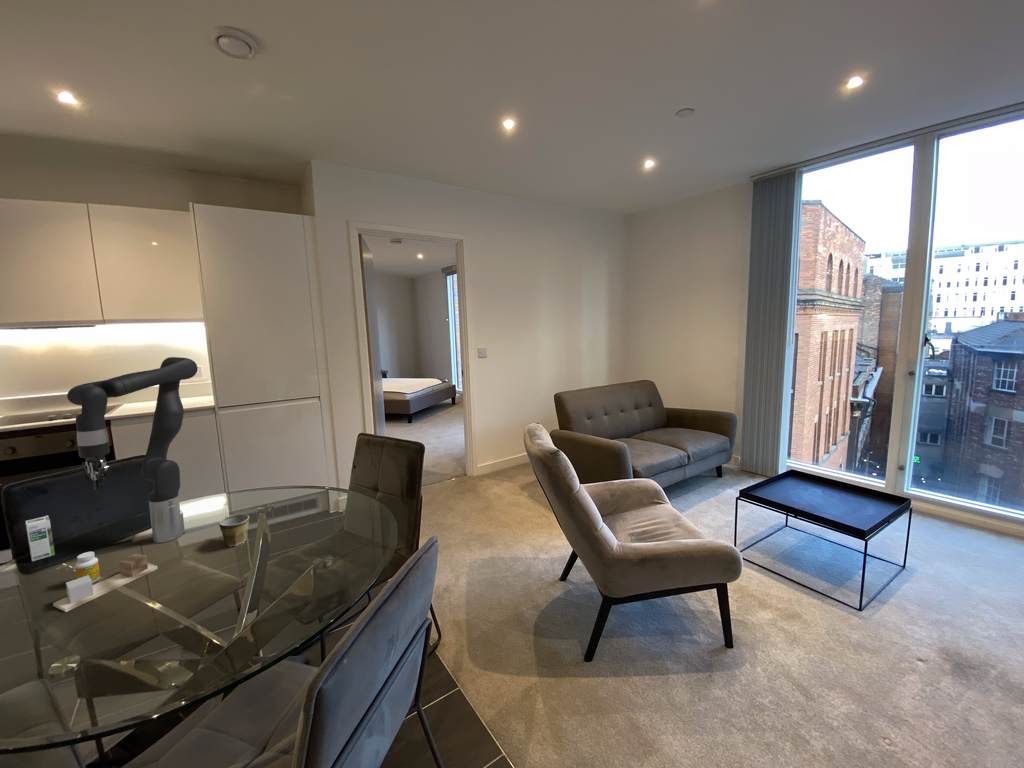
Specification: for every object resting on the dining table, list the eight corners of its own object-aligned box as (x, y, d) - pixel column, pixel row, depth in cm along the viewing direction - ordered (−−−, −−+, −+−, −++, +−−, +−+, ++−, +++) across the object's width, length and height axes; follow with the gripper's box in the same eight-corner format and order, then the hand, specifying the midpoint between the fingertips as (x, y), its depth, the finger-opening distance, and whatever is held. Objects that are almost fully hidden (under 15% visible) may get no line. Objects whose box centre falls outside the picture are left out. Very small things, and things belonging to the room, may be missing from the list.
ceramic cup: (255, 541, 164) (253, 518, 163) (227, 552, 156) (226, 528, 155) (240, 531, 171) (238, 509, 170) (213, 542, 163) (211, 519, 161)
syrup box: (31, 562, 147) (26, 525, 145) (30, 556, 150) (24, 520, 148) (55, 555, 151) (49, 519, 149) (53, 549, 155) (48, 514, 153)
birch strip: (145, 564, 147) (145, 561, 147) (157, 568, 145) (157, 566, 144) (53, 606, 125) (52, 603, 124) (65, 612, 122) (65, 609, 122)
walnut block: (136, 566, 144) (134, 553, 143) (147, 568, 143) (146, 555, 142) (120, 574, 139) (119, 561, 138) (132, 576, 138) (130, 563, 137)
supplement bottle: (85, 587, 134) (81, 560, 132) (73, 584, 135) (69, 558, 133) (104, 577, 139) (101, 551, 138) (92, 575, 140) (89, 549, 139)
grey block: (90, 589, 131) (88, 574, 131) (93, 595, 129) (91, 580, 128) (68, 597, 127) (65, 582, 127) (70, 603, 124) (68, 588, 124)
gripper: (118, 441, 141) (123, 488, 144) (96, 437, 146) (102, 482, 148) (89, 447, 134) (96, 496, 137) (68, 442, 139) (74, 490, 141)
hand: (99, 489), depth 142 cm, fingers closed
